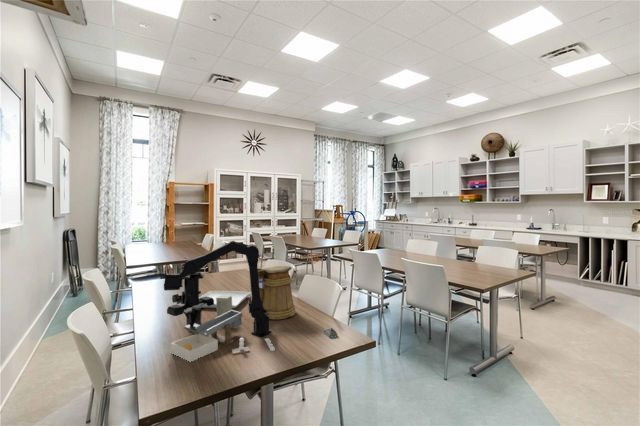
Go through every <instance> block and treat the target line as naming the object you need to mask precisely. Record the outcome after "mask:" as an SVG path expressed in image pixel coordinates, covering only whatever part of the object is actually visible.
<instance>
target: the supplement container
mask: <svg viewBox="0 0 640 426" xmlns="http://www.w3.org/2000/svg"><path fill="white" fill-rule="evenodd" d="M201 308H202V305H201ZM202 312H203V310H201V312H200V314H199V315H198V317H197V319H196V321H195V324H198V325H202V324H203V323H202V318H203V317H202ZM185 317H186V316H185ZM185 320H186V323H185V324H186V325H189V322H188V320H187V317H186V319H185ZM186 325H185V326H186Z"/></svg>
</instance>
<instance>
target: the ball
mask: <svg viewBox="0 0 640 426" xmlns="http://www.w3.org/2000/svg"><path fill="white" fill-rule="evenodd" d="M183 347H184V348H186V349H188V350H192V346H191V345H190V344H186V345H184V346H183Z"/></svg>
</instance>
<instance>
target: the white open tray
mask: <svg viewBox="0 0 640 426" xmlns="http://www.w3.org/2000/svg"><path fill="white" fill-rule="evenodd" d="M209 336H210V335H209ZM209 336H207V337H206V336H203V335H201V334H199V333H198V334H197V333H193V334H191V335H188V336H186V337H183V338H180V339H178V340H175V341H173V342H171V343H170V354H171V353H172V355H173V354H174V356H175V355H176V356H175V357H177V356H179V357H181V358H180V359H182V358H183V359H182V360H184V359H185V360H184V361H186V360H187V361H186V362H188V361H189V362H188V363H192V362H194V361H197V360H199V359H201V358H202V357H205V356H208V355H209V354H212V353H214V352H216V351H218V350H219V349H218V348H219V347H218V346H219V345H218V344H219V343H218V340H217V339H214V338H212V337H209ZM186 344H190V345H191V346H192V350H188V349H186V348H184V347H183V346H184V345H186ZM179 357H178V358H179ZM200 357H201V358H200ZM198 358H199V359H198ZM191 361H192V362H191Z"/></svg>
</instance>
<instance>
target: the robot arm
mask: <svg viewBox="0 0 640 426" xmlns="http://www.w3.org/2000/svg"><path fill="white" fill-rule="evenodd" d="M259 251H260V250H259V248H258V246H257V245H256V244H253V243H251V244H246V243H242V242H238V241H236V240H231V241H229V242H228V243H225V244H223V245H221V246H220V247H217V248H216V249H213V250H211V251H209V252H207V253H205V254H202V255H199V256H194V257H191V258H189V259H187V260H186V262H184V264H183V270H181V271H180V272H179V273H166V274H165V277H164V283H163V289H164V291H180V289H181V288H183V289H184V291H182V292H181V295H179V294H178V293H177V294H173V295H172V298H171V300H172V303H176V304H173V305H169V306H168V307H167V308H166V314H167V315H169V316H170V315H171V316H173V317H178V316H181V315H183V314H184V315H185V317H187V320H188V322H189V325H190V326H193V325H194V323H195V321H196V319H197V317H198V315H199V314H200V312H201V310H202V311H203V310H204V308H201V305H203V304H206V305H208V306H211V305H214V299H213V298H210V297H207V296H206V297H202V298H200V299H199V297H200V295H201V294H202V292H201V290H200V279H204V277H205V276H204V274H203V273H201V272H200V270H202V269H203V268H204V267H205V266H206V265H208V264H209V263H212V262H214V261H216V260H217V259H219V258H221V257H223V256H225V255H228V254H230V253H231V252H236V253H238V254H241V255H244V256H245V257H246V261H247V264H248V270H249V271H248V272H249V273H248V274H249V281H250V284H249V285H250V292H251V294H250V296H251V297H250V299H248V300H247V303H248V313H249V314H250V316H251V318H253V331H252V332H250V334H251V335H253V336H257V337H260V338H263V337H265V336H267V335H269V334H271V333H272V330H270V319H269V316H268V313H267V311H266V310H265V309H264V308H263V305H262V302H261V298H260V290H259V279H258V268H259V266H258V265H259V256H260V255H259V254H260V252H259ZM197 272H198V273H197ZM180 304H181V305H180Z"/></svg>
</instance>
